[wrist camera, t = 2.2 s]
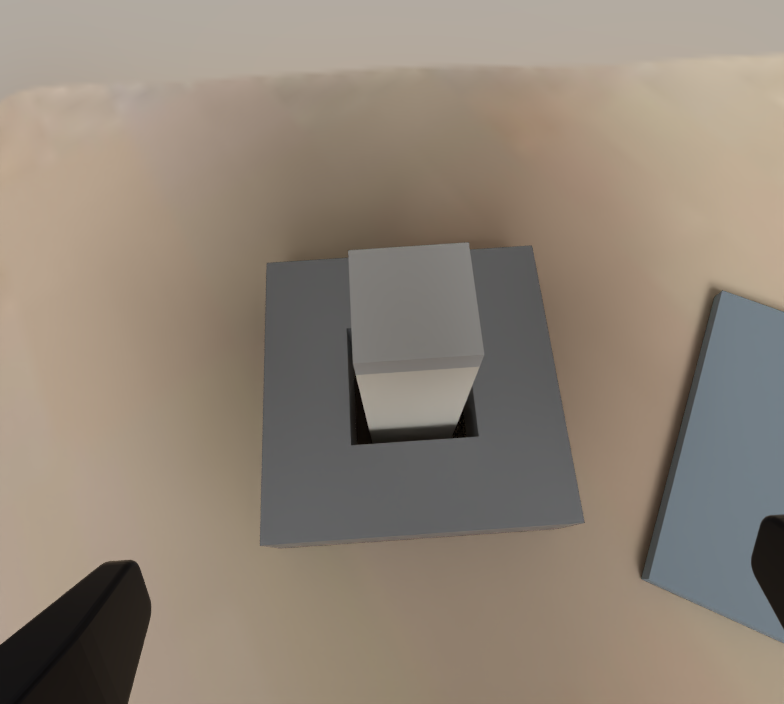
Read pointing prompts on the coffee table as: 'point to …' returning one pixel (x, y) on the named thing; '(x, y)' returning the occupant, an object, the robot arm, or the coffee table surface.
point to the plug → (414, 338)
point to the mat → (726, 467)
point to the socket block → (412, 458)
